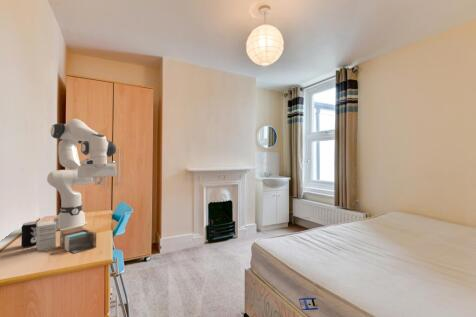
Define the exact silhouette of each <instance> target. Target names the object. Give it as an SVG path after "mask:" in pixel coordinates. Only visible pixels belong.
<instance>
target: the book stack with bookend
mask: <svg viewBox="0 0 476 317" xmlns="http://www.w3.org/2000/svg"><path fill="white" fill-rule="evenodd" d="M84 231H85V232H88V235H87V236H83V237H79V238H75V239H71V240H69V251H68V252H69V253H72V254H78V253H81V252H84V251H87V250H91V249H95V248H96V249H97V232H95V231H92V230H89V229H87V228H85V227H83V226H80V225H79V226H75V227H70V228H65V229H60V230H59V235H60V236H59V247H60V248H61V249H62V248H63V249H65V236H67V235H72V234H76V233H80V232H84Z"/></svg>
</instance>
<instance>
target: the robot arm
mask: <svg viewBox="0 0 476 317" xmlns="http://www.w3.org/2000/svg"><path fill="white" fill-rule="evenodd" d="M50 136H51V137H52V138H53V139H57V140H60V141H59V142H58V148H57V151H58V152H57V153H58V160H59V161H58V162H59V164H60V166H62V167H64V168H65V169H57V170H53V171H50V172H49V173H48V175H47V176H46V181H47V183H48V185H50V186H51V187H53V188H55V189H56V191H58V192H59V195H60V201H61V202H60V203H61V206H60V209H59V214H58V215H56V217H55V218H53V221H54V222H55V223H56V231H60V229H65V228H70V227H75V226H79V225H80V226H82V227H83V226H85V225H86V224H88V221H86V216H85V211H83V204H82V202H83V201H82V194H81V192H80V191H78V190H74V189H72V187H73V186H74V187H75V186H84V185H88V184H92V183H93V182H94V186H101V185H102V182H103V181H104V179H105V177H106V178H109V177H116V176H117V174H118V172H117V163H116V162H115V161H108V158H110V157H112V156H114V155H115V154H116V152H117V146H116V145H115V143H114V142H113V141H110V140H108V139H107V136H106V135H104V134H101V133H99V132H97V131H96V130H94V129H92V128H90V127H89V126H88V125H87V124H86V123H85V122H84V121H82V120H80V119H79V118H71V119H69V120H68V122H67V123H54V124H52V126H51V127H50ZM77 144H79V145H80V146H81V147H80V150H81V153H82V154H83V155H85V156H87V157H88V158H87V159H82V160H80V157H79V151H78V148H77ZM98 178H99V181H98V180H97V179H98Z"/></svg>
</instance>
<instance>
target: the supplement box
mask: <svg viewBox="0 0 476 317" xmlns="http://www.w3.org/2000/svg"><path fill="white" fill-rule="evenodd" d="M35 247H36V249H37V251H38V252H40V251H45V250H49V249H55V248H56V247H57V230H56V222H54V220H51V221H49V220H48V221H44V222H37V224H36V245H35Z"/></svg>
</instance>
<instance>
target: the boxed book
mask: <svg viewBox="0 0 476 317" xmlns="http://www.w3.org/2000/svg"><path fill="white" fill-rule="evenodd" d="M87 235H88V232H85V231H84V232H80V233H76V234H72V235H67V236H65V248H64V250H65V251H67V252H69V240H71V239H75V238H79V237H83V236H87Z"/></svg>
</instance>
